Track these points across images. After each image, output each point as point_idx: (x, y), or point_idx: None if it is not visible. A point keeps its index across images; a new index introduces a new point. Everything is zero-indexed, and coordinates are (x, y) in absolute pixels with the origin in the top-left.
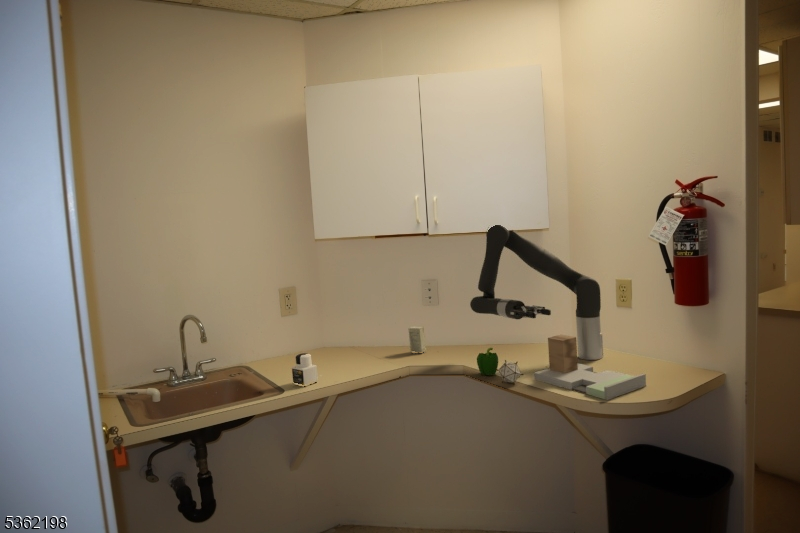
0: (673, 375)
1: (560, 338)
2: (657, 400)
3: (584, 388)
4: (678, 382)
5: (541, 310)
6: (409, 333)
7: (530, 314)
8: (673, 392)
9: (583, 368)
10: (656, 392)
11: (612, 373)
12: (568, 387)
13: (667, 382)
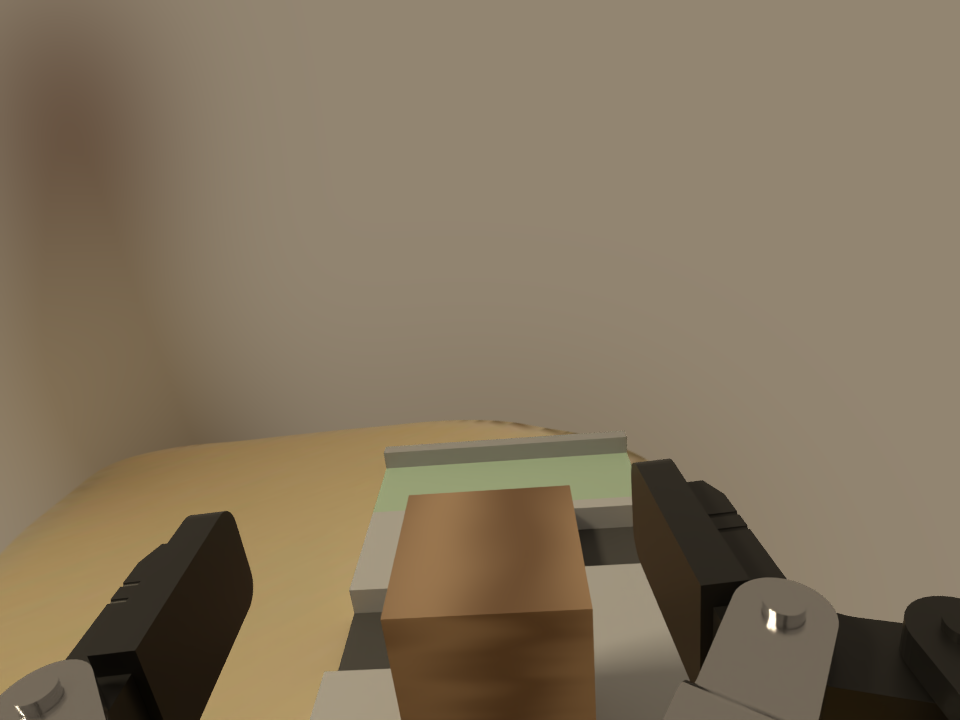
0: (209, 500)
1: (527, 529)
2: (504, 422)
3: (616, 553)
4: (294, 463)
5: (126, 714)
6: None
7: (730, 519)
8: (407, 433)
9: None
10: None
11: (396, 545)
12: None
13: (311, 476)
